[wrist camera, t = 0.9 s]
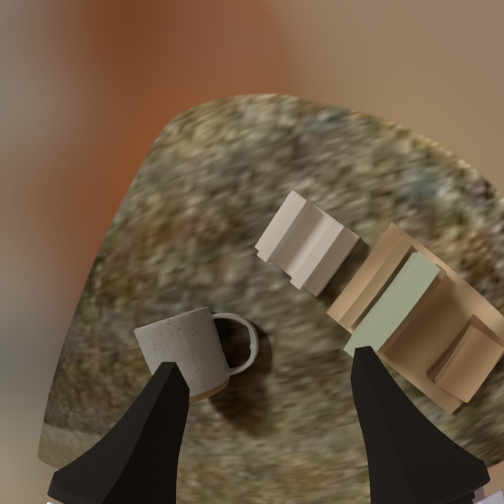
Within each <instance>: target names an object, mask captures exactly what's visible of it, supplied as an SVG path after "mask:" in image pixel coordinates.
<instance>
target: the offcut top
mask: <svg viewBox="0 0 504 504" xmlns="http://www.w3.org/2000/svg"><path fill="white" fill-rule="evenodd" d="M503 351H504V347H503V346H502V345H501V344H500V343H498V342H497V341H495V340H494V339H492V338H491V337H489V336H488V335H486V334H485V333H483V332H482V331H480V330H478V329H477V328H475V327H474V326H472V325H471V324H470V326H469V328H468V329H467V331H466V333H465V334H464V336H463V338H462V339H461V341H460V342H459V344H458V346H457V347H456V349H455V350H454V352H453V353H452V355H451V356H450V358H449V359H448V361H447V362H446V364H445V365H444V367H443V368H442V370H441V371H440V372H439V374H438V375H437V377H436V378H435V382H436V385H437V386H439V387H440V388H442V389H444V390H445V391H447V392H449V393H451V394H452V395H454V396H456V397H457V398H459V399H461V400H463V401H464V402H466V403H468V402H469V400H470V399H471V398H472V397H473V395H474V394H475V393H476V391H477V390H478V388H479V387H480V386H481V384H482V383H483V381H484V380H485V379H486V377H487V376H488V374H489V373H490V371H491V370H492V368H493V367H494V365H495V364H496V362H497V361H498V359H499V357H500V356H501V354H502V352H503Z"/></svg>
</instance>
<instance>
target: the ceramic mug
mask: <svg viewBox="0 0 504 504" xmlns="http://www.w3.org/2000/svg"><path fill="white" fill-rule="evenodd" d="M215 318H227V319H233V320H236V321H238V322H240V323H241V324H243V325H245V326H246V327H248V330H249V334H250V338H251V345H250V349H251V355H250V358H249V359H248V361H247V362H245V363H243V364H242V365H240V366H238V367H235V368H229V366H228V363H227V361H226V357H225V355H224V353H223V350H222V347H221V343H220V340H219V336H218V332H217V329H216V325H215V322H214V319H215ZM135 335H136V337H137V340H138V342H139V345H140V347H141V350H142V352H143V355H144V357H145V360H146V362H147V364H148V366H149V369H150V371H151V373H152V375H153V374H154V373H155V371H156V370H157V368H158V367H159V365H160V364H161V363H162V362H176V364H177V365H178V367H179V369H180V371H181V373H182V375H183V377H184V379H185V381H186V383H187V384H188V386H189V388H190V397H189V403H192V402H197V401H200V400H202V399H205V398H208V397H210V396H213V395H215V394H216V393H218V392H220V391H221V390H223V389H224V388H225V387H226V386H227V384H228V382H229V380H230V375H234V374H237V373H240V372H241V371H244V370H245V369H246V368H248V367H249V366H250V365H251V364H252V363H253V362H254V361H255V359H256V356H257V354H258V350H259V338H258V334H257V331H256V329H255V327H254V326H253V324H252V323H251V322H250V321H249V320H248V319H247V318H245V317H243V316H241V315H238V314H234V313H216V314H212V313H211V310H210V308H209V307H204V308H200V309H196V310H193V311H190V312H187V313H184V314H180V315H178V316H174V317H171V318H168V319H165V320H162V321H159V322H156V323H152V324H150V325H147V326H144V327H141V328H138V329H136V330H135Z"/></svg>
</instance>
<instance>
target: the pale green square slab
mask: <svg viewBox="0 0 504 504" xmlns="http://www.w3.org/2000/svg"><path fill="white" fill-rule="evenodd" d="M439 271H440V269H439V268H438V267H437V266H436V265H435V264H433V263H432V262H431V261H430V260H428V259H427V258H426V257H425V256H424V255H422V254H421V253H420V252H415V253H411V255H410V256H409V258H408V259H407V261H406V262H405V264H404V265H403V266H402V268H401V269H400V271H399V272H398V273H397V275H396V276H395V278H394V279H393V280H392V282H391V283H390V284H389V286H388V287H387V288H386V290H385V291H384V292H383V294H382V295H381V296H380V298H379V299H378V300H377V302H376V303H375V304H374V305H373V307H372V308H371V309H370V311H369V312H368V313H367V314H366V316H365V317H364V318H363V319H362V321H361V322H360V323H359V324H358V326H357V328H356V329H355V331H354V333H353V335H352V336H351V338H350V340H349V341H348V343H347V345H346V346H345V348H344V350H345V351H346V352H347V353H348V354H350V355H351V356H352V357H353V358H354V352H355V348H359V347H365V346H371V347H372V348H373V350H374V351H375V353H376V352H377V351H378V349H379V348H380V347H381V346H382V345H383V344H384V342H385V341H386V340H387V339H388V338H389V337H390V335H391V334H392V333H393V332H394V331H395V329H396V328H397V327H398V326H399V325H400V323H401V322H402V321H403V320H404V318H405V317H406V316H407V315H408V313H409V312H410V311H411V309H412V308H413V307H414V305H415V304H416V303H417V302H418V300H419V299H420V297H421V296H422V295H423V293H424V292H425V291H426V289H427V288H428V286H429V285H430V284H431V282H432V281H433V279H434V278H435V277H436V275H437V274H438V272H439Z"/></svg>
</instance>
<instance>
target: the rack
mask: <svg viewBox="0 0 504 504" xmlns="http://www.w3.org/2000/svg"><path fill="white" fill-rule="evenodd" d="M415 252H420V253H421V254H422V255H424V256H425V257H426V258H427V259H428V260H430V261H431V262H432V263H433V264H435V265H436V266H437V267H438V268H439V269H440V271H439V272H438V274H437V275H436V277H435V278H434V279H433V281H432V282H431V284H430V285H429V286H428V288H427V289H426V291H425V292H424V293H423V295H422V296H421V297H420V299H419V300H418V302H417V303H416V304H415V305H414V307H413V308H412V309H411V311H410V312H409V313H408V315H407V316H406V317H405V318H404V320H403V321H402V322H401V323H400V325H399V326H398V327H397V328H396V329H395V331H394V332H393V333H392V334H391V335H390V337H389V338H388V339H387V340H386V341H385V342H384V344H383V345H382V346H381V347H380V348H379V349H378V351H377V352H376V354H377V355H378V356H379V357H380V358H382V359H383V360H384V361H385V362H386V363H388V364H389V365H390V366H391V367H393V368H394V369H395V370H396V371H397V372H399V373H400V374H401V375H402V376H403V377H405V378H406V379H407V380H408V381H410V382H411V383H412V384H413V385H414V386H416V387H417V388H418V389H419V390H420V391H422V392H423V393H424V394H425V395H427V396H428V397H429V398H430V399H431V400H433V401H434V402H435V403H436V404H437V405H439V406H440V407H441V408H442V409H444V410H445V411H446V412H447V413H448V414H450V415H451V414H452V413H453V412H454V411H455V410H456V409H457V408H458V407H459V406H460V405H461V404H462V403H463V402H464V401H463V400H460V401H459V402H458V403H457V402H456V401H455V400H453V399H452V398H451V397H450V396H449V395H448V394H446V393H445V392H444V391H443V390H442V389H440V388H439V387H438V386H437V385H436V384H434V383H433V382H432V381H431V380H430V379H429V378H427V373H426V372H427V371H428V370H429V368H430V367H431V366H432V365H433V364H434V363H435V362H436V360H437V359H438V358H439V357H440V356H441V355H442V354H443V352H444V351H445V350H446V349H447V348H448V346H449V345H450V344H451V343H452V341H453V340H454V339H455V338H456V336H457V335H458V334H459V332H460V331H461V330H462V329H463V327H464V326H465V325H466V323H467V322H468V321H469V319H470V318H471V316H472V315H473V314H474V315H476V316H477V317H478V318H479V319H480V320H481V321H482V322H483V323H484V324H485V325H487V326H488V327H489V328H490V329H491V330H492V331H493V332H494V333H495V334H496V335H497V336H498V337H499V338H500V339H501V340H502V341H503V342H504V317H503V316H502V315H501V314H500V313H499V312H498V311H497V310H496V309H495V308H494V307H493V306H492V305H491V304H490V303H489V302H488V301H487V300H485V299H484V298H483V297H482V296H481V295H480V294H479V293H478V292H477V291H476V290H475V289H474V288H472V287H471V286H470V285H469V284H468V283H467V282H466V281H465V280H463V279H462V278H461V277H460V276H459V275H458V274H457V273H455V272H454V271H453V270H452V269H451V268H449V267H448V266H447V265H446V264H445V263H443V262H442V261H441V260H440V259H439V258H437V257H436V256H435V255H434V254H433V253H431V252H430V251H429V250H428V249H426V248H425V247H424V246H422V245H421V244H420V243H419V242H417V241H416V240H415V239H414V238H412V237H411V236H410V235H408V234H407V233H406V232H404V231H403V230H402V229H400V228H399V227H398V226H396V225H395V224H394V223H392V222H391V224H390V225H389V227H388V228H387V230H386V231H385V233H384V234H383V236H382V237H381V239H380V240H379V242H378V243H377V245H376V246H375V248H374V249H373V250H372V252H371V253H370V255H369V256H368V258H367V259H366V260H365V262H364V263H363V265H362V266H361V267H360V269H359V270H358V272H357V273H356V274H355V276H354V277H353V278H352V280H351V281H350V282H349V284H348V285H347V286H346V288H345V289H344V290H343V292H342V293H341V294H340V296H339V297H338V298H337V300H336V301H335V302H334V303H333V305H332V306H331V307H330V309H329V310H328V311H327V312H326V313H327V314H328V315H329V316H331V317H332V318H333V319H334V320H335V321H337V322H338V323H339V324H340V325H342V326H343V327H344V328H345V329H346V330H348V331H349V332H350V333H351V334H352V335H353V333H354V331H355V329H356V328H357V326H358V324H359V323H360V322H361V321H362V319H363V318H364V317H365V316H366V314H367V313H368V312H369V311H370V309H371V308H372V307H373V305H374V304H375V303H376V302H377V300H378V299H379V298H380V296H381V295H382V294H383V292H384V291H385V290H386V288H387V287H388V286H389V284H390V283H391V282H392V280H393V279H394V278H395V276H396V275H397V273H398V272H399V271H400V269H401V268H402V266H403V265H404V264H405V262H406V261H407V259H408V258H409V256H410V255H411V253H415ZM503 355H504V351H503V352H502V354H501V356H500V357H499V359H498V361H499V360H500V359H501V357H502V356H503ZM498 361H497V362H496V364H497V363H498ZM496 364H495V365H496ZM495 365H494V366H495ZM493 368H494V367H493ZM493 368H492V369H493Z"/></svg>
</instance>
